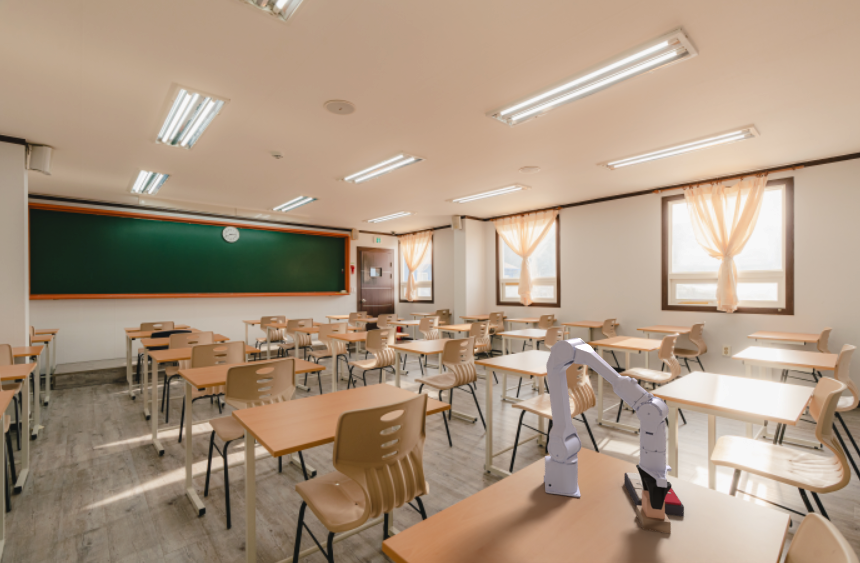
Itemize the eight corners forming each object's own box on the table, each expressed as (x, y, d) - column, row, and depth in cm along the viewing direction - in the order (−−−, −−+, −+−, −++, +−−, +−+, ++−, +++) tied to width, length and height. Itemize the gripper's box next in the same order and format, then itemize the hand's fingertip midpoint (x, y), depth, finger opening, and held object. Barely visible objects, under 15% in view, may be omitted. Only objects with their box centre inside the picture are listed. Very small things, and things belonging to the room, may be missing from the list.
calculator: (638, 498, 103) (624, 469, 118) (637, 514, 103) (623, 483, 118) (684, 504, 100) (664, 474, 115) (684, 520, 100) (664, 488, 115)
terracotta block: (646, 516, 96) (646, 498, 96) (641, 507, 100) (641, 490, 100) (664, 519, 95) (664, 500, 95) (659, 510, 99) (659, 492, 99)
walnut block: (643, 530, 95) (643, 518, 95) (636, 516, 101) (636, 505, 101) (670, 534, 94) (670, 522, 94) (662, 520, 99) (662, 508, 99)
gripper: (681, 461, 89) (681, 521, 89) (661, 438, 103) (661, 489, 103) (647, 458, 91) (647, 516, 91) (632, 435, 105) (632, 486, 105)
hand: (652, 502), depth 97 cm, fingers open, 5 cm apart
